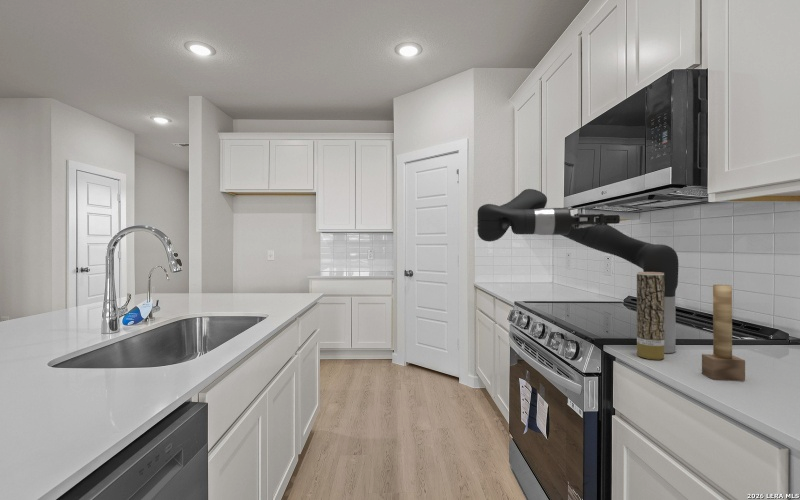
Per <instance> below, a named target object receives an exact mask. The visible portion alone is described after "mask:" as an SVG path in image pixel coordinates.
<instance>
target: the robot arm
mask: <svg viewBox="0 0 800 500" xmlns="http://www.w3.org/2000/svg"><path fill="white" fill-rule="evenodd" d="M547 202H548V196H546V194H544V193H543V192H542V191H540V190H537V189H533V188H527V189H526V188H525V189H523V191H521V192H520V193H519V194H518V195H516V196H515V197H514V198H513V199H511V200H510V201H508V202H506V203H504V204H502V205H496V204H492V203H485V204H482V205H481V206H479V207H478V210H477V230H476V231H477V236H478V237H479V239H481V240H482V241H484V242H488V243H489V242H495V241H498V240H500V239H501V238H502V237H504V236H505V234H506V233H507V231H508V230H509V228H510V229H511V232H512V233H513V234H515V235H538V236H563V237H564V238H567V239H569V240H571V241H572V242H575V243H579V244H580V245H583V246H585V247H588V248H590V249H593V250H596V251H598V252H602V253H604V254H605V253H606V254H608V255H613V256H615V257H618V258H622V259H624V260H625V261H627V262H629V263H631V264H633V265H634V266H637V267H639V268H640V269H642V272H661V273H664V354H671V353H675V352H676V290H677V287H678V284H679V257H678V254H677V252H676V250H675V249H674V248H672V247H671V246H669V245H666V244H660V243H659V244H654V243H650V242H647V241H643V240H639V239H636V238H634V237H631V236H629V235H627V234H625V233H623V232H621V231H620V230H618V229H617V228H615V227H613V226H612V224H615V225H616V224H620V222H621V221H620V220H621V218H620V217H621V216H620V215H619V214H603V213H599V214H598V213H582V212H580V213H574V214H573V215H572V214H571V210H570V208H569V207H546V205H547ZM610 224H611V225H610Z"/></svg>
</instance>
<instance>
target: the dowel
mask: <svg viewBox="0 0 800 500" xmlns="http://www.w3.org/2000/svg"><path fill="white" fill-rule="evenodd" d="M712 323H713V324H712V337H713V338H712V339H713V341H712V345H713V348H712V349H713V350H712V351H713V352H712V353H713V354H712V355H713V356H714V357H716V358H720V359H732V355H733V285H730V284H712Z"/></svg>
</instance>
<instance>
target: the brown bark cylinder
mask: <svg viewBox="0 0 800 500" xmlns="http://www.w3.org/2000/svg"><path fill="white" fill-rule="evenodd" d="M636 354H637V356H639V357H640V358H641V359H642V358H643V359H645V360H654V361H655V360H659V361H660V360H664V358H665V353H664V273H661V272H643V271H637V272H636Z"/></svg>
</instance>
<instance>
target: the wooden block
mask: <svg viewBox="0 0 800 500" xmlns="http://www.w3.org/2000/svg"><path fill="white" fill-rule="evenodd" d="M701 374H702V375H703V376H706V377H708V378H709V379H711V380H714V381H715V380H716V381H718V380H719V381H739V382H746V360H745V359H743V358H740V357H737V356H736V355H733V354H732V359H720V358H716V357H714V356H713V354H711V353H710V354H706V353H702V354H701Z"/></svg>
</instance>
